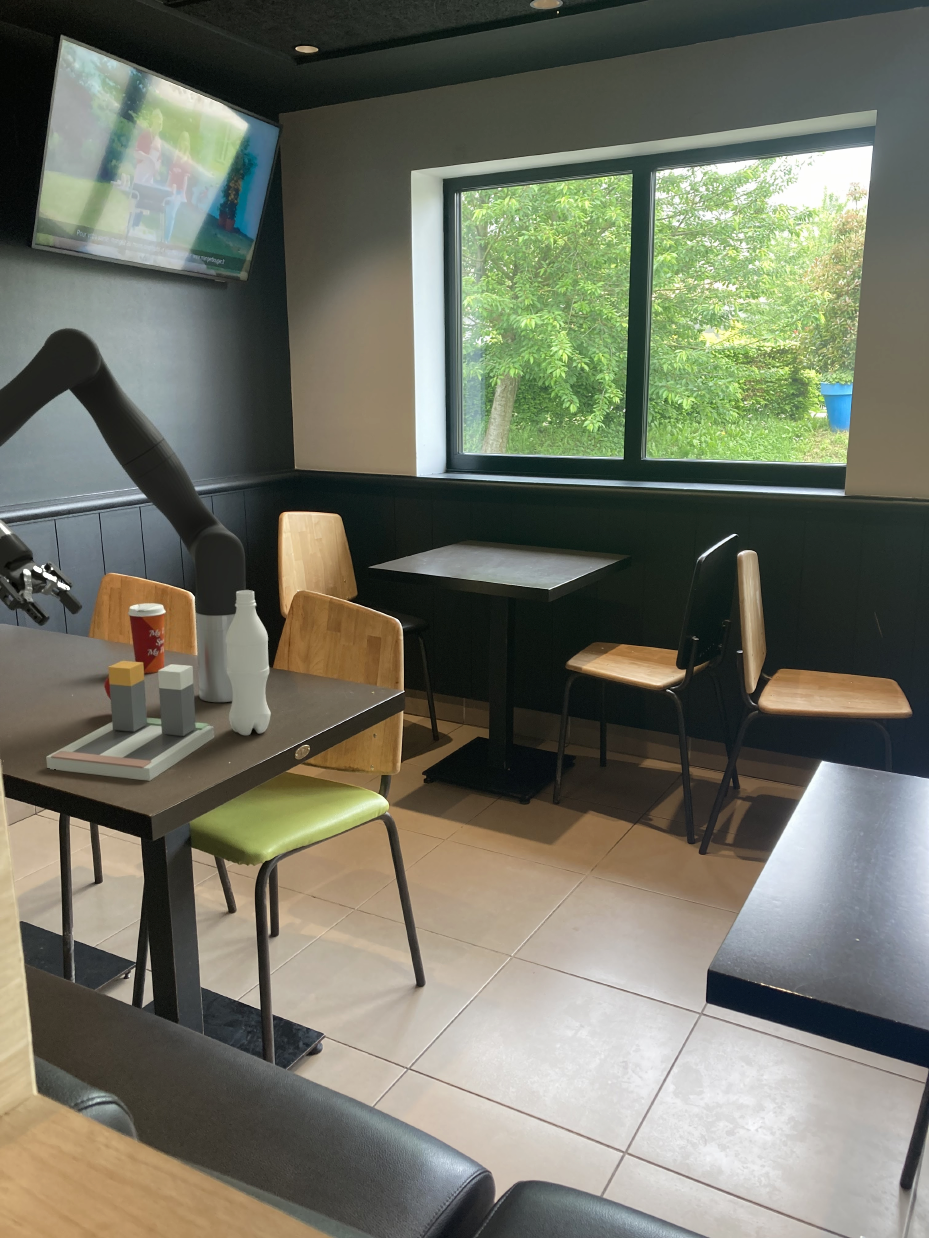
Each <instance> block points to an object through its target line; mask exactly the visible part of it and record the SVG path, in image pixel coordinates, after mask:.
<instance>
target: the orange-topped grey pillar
mask: <svg viewBox="0 0 929 1238" xmlns="http://www.w3.org/2000/svg"><path fill="white" fill-rule="evenodd" d="M107 669H108V677H109V684H110V698H111V700H110V710H111V722H112V725H113V730H122V731H131V732H134V731H136V730H138V729H140V728H141V727H143V726H145V725H147V718H148V716H147V715H148V714H147V701H146V700H147V699H146V686H145V685H146V682H145V673H144V666H143V663H142V662H135V661H131V660H130V661H129V660H120V661H118V662H116V663H114V664H112V665H110V666H107ZM110 698H109V699H110Z"/></svg>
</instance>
